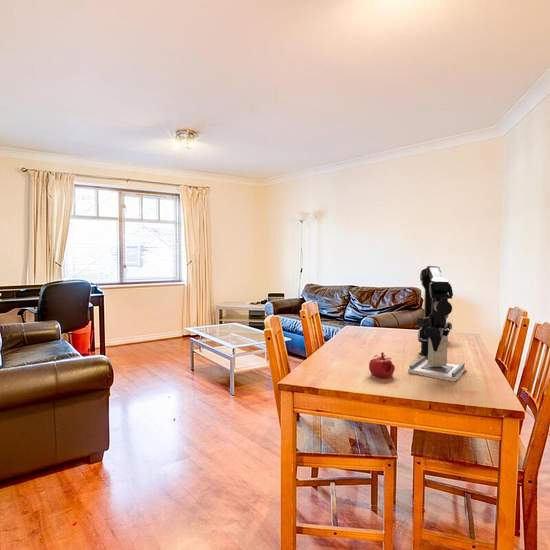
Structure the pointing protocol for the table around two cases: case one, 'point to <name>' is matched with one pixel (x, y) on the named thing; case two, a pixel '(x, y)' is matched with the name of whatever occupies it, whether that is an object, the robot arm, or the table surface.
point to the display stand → (437, 370)
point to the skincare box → (438, 353)
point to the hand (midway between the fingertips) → (437, 349)
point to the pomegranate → (381, 366)
